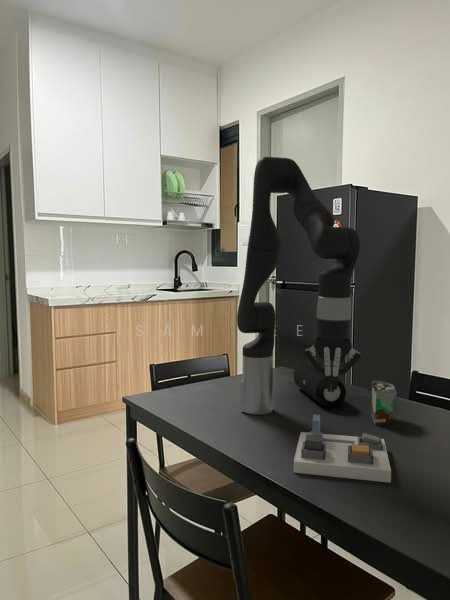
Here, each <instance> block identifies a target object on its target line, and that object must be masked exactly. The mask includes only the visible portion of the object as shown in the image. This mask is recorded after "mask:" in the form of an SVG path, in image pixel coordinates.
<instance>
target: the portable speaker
mask: <svg viewBox="0 0 450 600" xmlns="http://www.w3.org/2000/svg"><path fill="white" fill-rule="evenodd" d="M331 378H332V373H331ZM293 380H294V383H295V385H296V386H297V388H298V387H299V388H300V389H301V390H302V391H304V392H305V393H306V394H307V395H309V396H310V397H311V398H312V399H313V400H315V401H317V402H318V403H319V404H320V405H322V406H324V407H326V408H333V407H338V406H339V405H341V404H342V403H343V402H344V401H345V400H346V396H347V389H346V387H345V383H344V382H343V380H341V378H340V377H338V385H337V390H334V392H328V389H325V375H324V374H323V373H319V372H318V371H317V370H316V369H315V367H314V366H313V365H312V363H311V362H310V361H306V362H301V363H300V364H299V365H297V366H296V367H295V369H294V372H293Z"/></svg>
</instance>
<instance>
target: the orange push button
mask: <svg viewBox="0 0 450 600" xmlns="http://www.w3.org/2000/svg"><path fill="white" fill-rule="evenodd" d="M351 454H359V455H369V446H368V445H357V444H352V452H351Z"/></svg>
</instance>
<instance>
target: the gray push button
mask: <svg viewBox="0 0 450 600" xmlns="http://www.w3.org/2000/svg"><path fill="white" fill-rule="evenodd" d="M322 441H323V436H320V435H308V434H307V435H306V439H305V450H316V451H322Z"/></svg>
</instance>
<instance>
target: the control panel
mask: <svg viewBox="0 0 450 600" xmlns="http://www.w3.org/2000/svg"><path fill="white" fill-rule="evenodd" d="M307 434H308V435H310V432H305V431H301V432H300V435H299V438H298V442H297V446H296V450H295V454H294V458H293V459H294V460H293V473H296V474H304V475H313V476H325V477H334V478H343V479H353V480H361V481H362V480H363V481H370V482H379V483H382V482H383V483H392V482H391V481H392V467H391V465H390V464H391V463H390V461H389V455H388V452H387V446H386V443H385V439H384V438H379V445H373V444H369V443H366V442H362V436H355V435H352V436H351V435H340V434H328V433H323V441H322V451H316V450H305V439H306V435H307ZM352 444H357V445H368V446H369V455H359V454H351V452H352Z"/></svg>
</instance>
